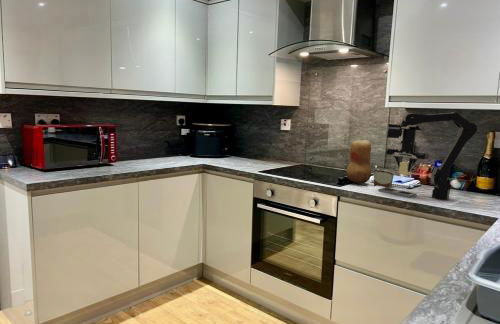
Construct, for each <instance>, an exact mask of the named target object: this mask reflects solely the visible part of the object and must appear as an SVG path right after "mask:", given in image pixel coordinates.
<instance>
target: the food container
mask: <svg viewBox="0 0 500 324" xmlns="http://www.w3.org/2000/svg"><path fill="white" fill-rule="evenodd" d="M372 173H373V187H377V186H379V187H382V188H385V187H387V188H392V185H393V179H394V176H396V173H395V170H393V169H390V168H379V167H377V168H376V167H375V168H373V169H372Z"/></svg>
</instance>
